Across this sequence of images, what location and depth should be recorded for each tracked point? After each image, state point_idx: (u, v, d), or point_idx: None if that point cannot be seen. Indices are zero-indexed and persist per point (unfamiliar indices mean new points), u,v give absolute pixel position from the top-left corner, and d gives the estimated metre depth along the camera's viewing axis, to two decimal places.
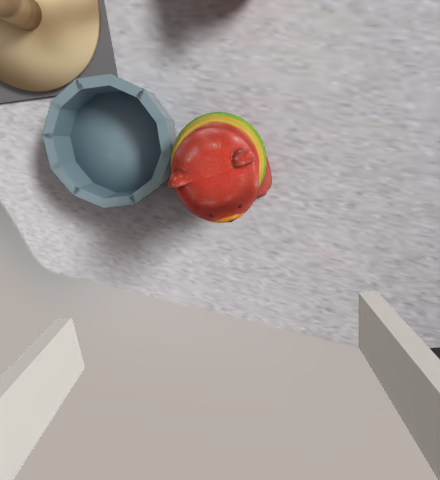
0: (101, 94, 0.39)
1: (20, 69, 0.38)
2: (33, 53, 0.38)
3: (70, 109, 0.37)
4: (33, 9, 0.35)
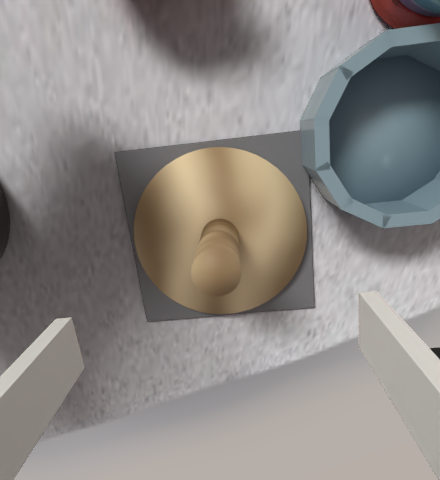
0: None
1: (280, 254, 0.31)
2: (263, 235, 0.30)
3: None
4: (221, 223, 0.28)
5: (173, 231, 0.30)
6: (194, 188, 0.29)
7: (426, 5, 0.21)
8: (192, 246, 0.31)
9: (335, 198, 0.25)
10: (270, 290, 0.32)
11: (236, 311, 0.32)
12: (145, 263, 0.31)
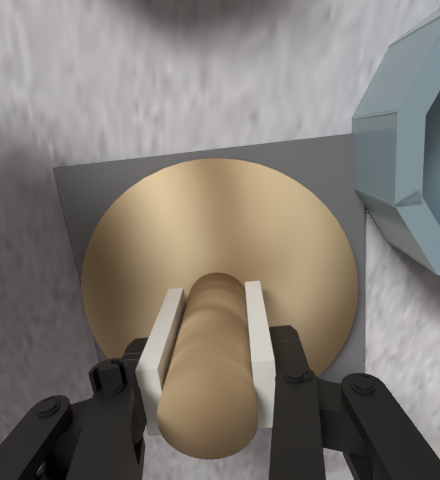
0: None
1: (314, 327, 0.19)
2: (287, 298, 0.19)
3: None
4: (219, 284, 0.17)
5: (144, 291, 0.19)
6: (176, 225, 0.18)
7: None
8: None
9: (427, 255, 0.14)
10: None
11: None
12: (101, 338, 0.20)
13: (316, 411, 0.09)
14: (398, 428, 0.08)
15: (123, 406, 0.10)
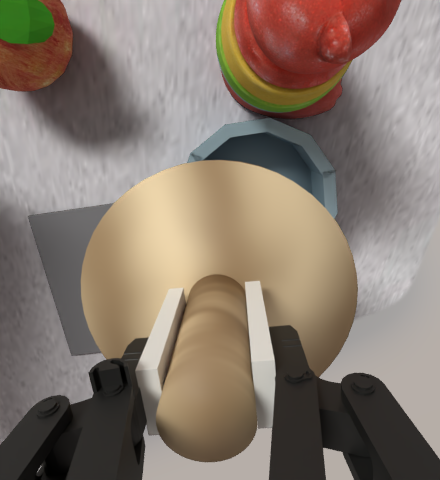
0: None
1: (313, 328, 0.19)
2: (287, 300, 0.19)
3: None
4: (218, 286, 0.17)
5: (143, 293, 0.19)
6: (175, 227, 0.18)
7: None
8: None
9: None
10: None
11: None
12: (101, 340, 0.20)
13: (316, 411, 0.09)
14: (398, 428, 0.08)
15: (123, 406, 0.10)
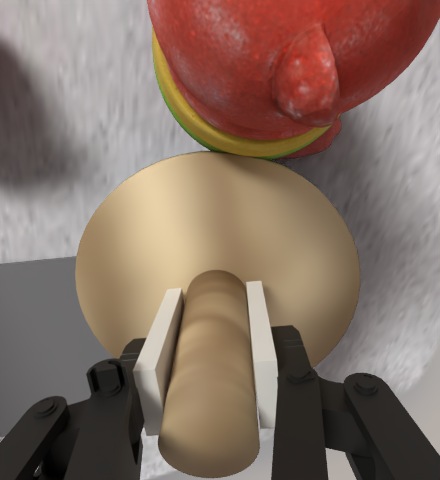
0: None
1: (312, 322, 0.19)
2: (287, 295, 0.19)
3: None
4: (219, 286, 0.17)
5: (140, 287, 0.19)
6: (173, 222, 0.17)
7: None
8: None
9: None
10: None
11: None
12: (98, 331, 0.20)
13: (319, 411, 0.09)
14: (401, 428, 0.08)
15: (121, 406, 0.10)
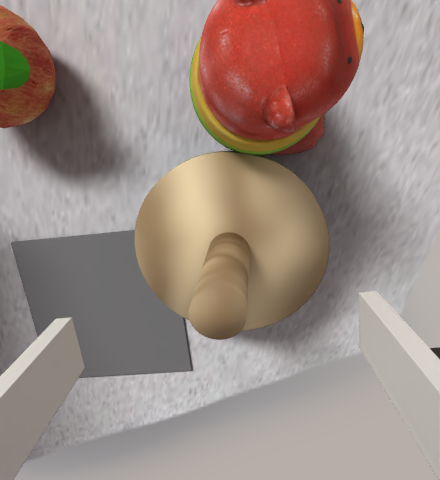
0: None
1: (296, 273, 0.27)
2: (278, 253, 0.27)
3: None
4: (230, 241, 0.25)
5: (177, 243, 0.27)
6: (202, 198, 0.26)
7: None
8: (198, 260, 0.28)
9: None
10: (283, 310, 0.29)
11: (244, 329, 0.30)
12: (147, 274, 0.29)
13: None
14: None
15: None
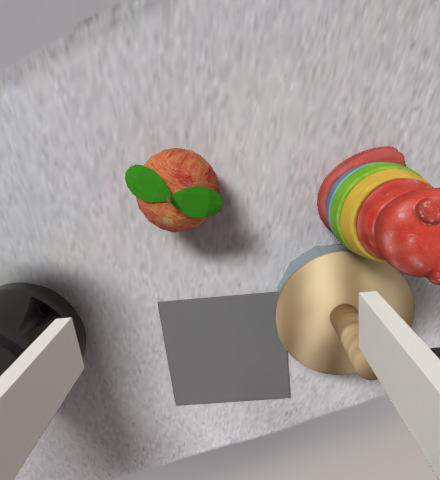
0: None
1: None
2: None
3: None
4: (352, 310, 0.37)
5: (308, 311, 0.39)
6: (329, 281, 0.37)
7: None
8: (321, 323, 0.39)
9: None
10: None
11: (349, 373, 0.41)
12: (281, 334, 0.39)
13: None
14: None
15: None
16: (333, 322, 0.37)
